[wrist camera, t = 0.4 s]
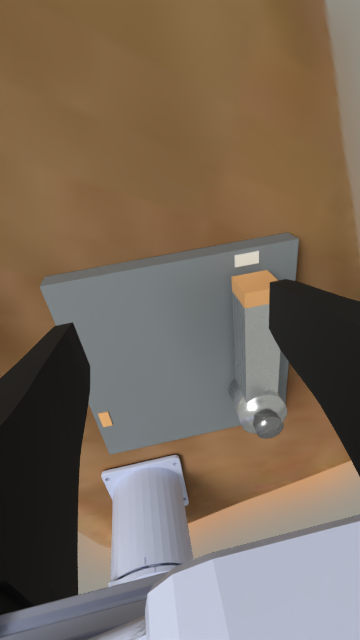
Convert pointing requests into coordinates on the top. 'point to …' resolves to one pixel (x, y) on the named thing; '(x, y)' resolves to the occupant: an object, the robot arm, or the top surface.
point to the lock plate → (166, 339)
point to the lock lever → (254, 350)
